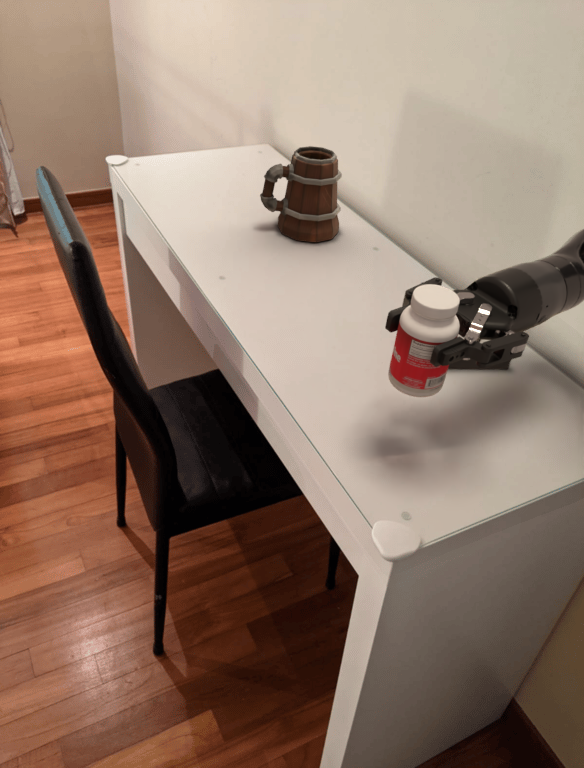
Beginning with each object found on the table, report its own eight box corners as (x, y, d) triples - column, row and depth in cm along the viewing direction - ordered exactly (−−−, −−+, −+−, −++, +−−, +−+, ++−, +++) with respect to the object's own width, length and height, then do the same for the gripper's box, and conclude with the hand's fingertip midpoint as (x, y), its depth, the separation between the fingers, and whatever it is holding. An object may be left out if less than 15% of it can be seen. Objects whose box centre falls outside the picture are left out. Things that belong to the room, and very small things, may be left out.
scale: (485, 330, 98) (491, 311, 95) (507, 369, 90) (515, 349, 88) (425, 329, 97) (430, 310, 94) (442, 368, 89) (448, 348, 87)
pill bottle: (393, 359, 71) (412, 275, 64) (446, 372, 70) (470, 288, 62) (381, 390, 66) (400, 303, 59) (437, 405, 65) (463, 318, 58)
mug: (326, 215, 127) (336, 142, 117) (344, 242, 118) (356, 165, 108) (252, 217, 123) (256, 141, 114) (265, 245, 114) (269, 165, 105)
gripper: (477, 243, 73) (370, 276, 65) (580, 301, 64) (472, 347, 56) (461, 297, 77) (360, 334, 69) (555, 358, 69) (452, 408, 61)
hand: (410, 339), depth 63 cm, fingers closed on pill bottle, 6 cm apart
